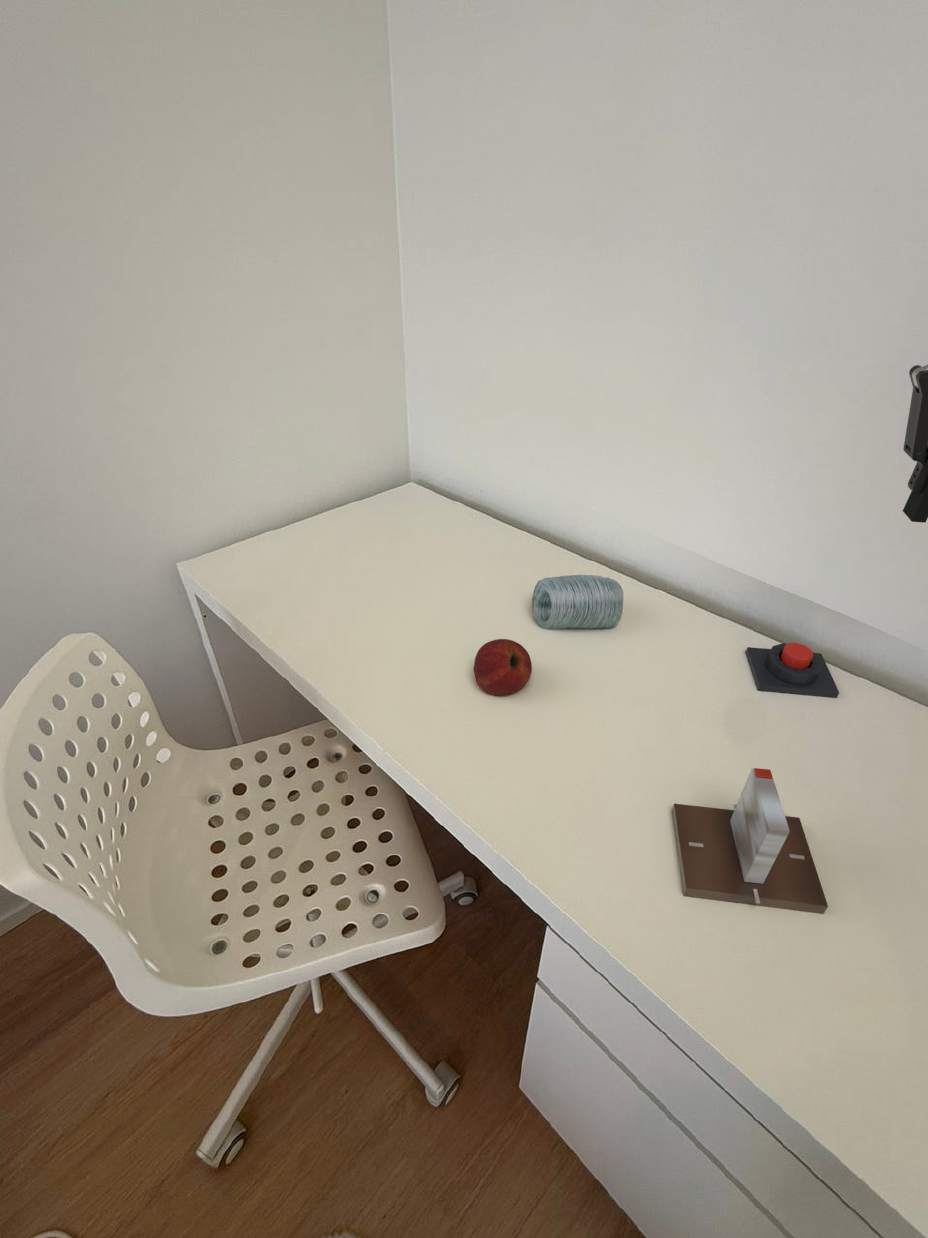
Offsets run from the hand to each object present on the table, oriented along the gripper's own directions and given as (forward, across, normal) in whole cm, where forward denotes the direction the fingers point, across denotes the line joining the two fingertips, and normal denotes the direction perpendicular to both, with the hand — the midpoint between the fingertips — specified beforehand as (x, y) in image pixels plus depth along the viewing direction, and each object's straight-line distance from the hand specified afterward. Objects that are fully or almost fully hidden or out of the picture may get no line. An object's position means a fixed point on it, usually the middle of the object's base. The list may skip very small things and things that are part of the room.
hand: (913, 516), depth 76 cm
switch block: (+24, +8, +3) cm, 26 cm away
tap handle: (+22, +20, +33) cm, 44 cm away
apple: (+25, +47, +10) cm, 54 cm away
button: (+21, +8, +3) cm, 22 cm away
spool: (+25, +37, -6) cm, 45 cm away
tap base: (+24, +20, +33) cm, 46 cm away
